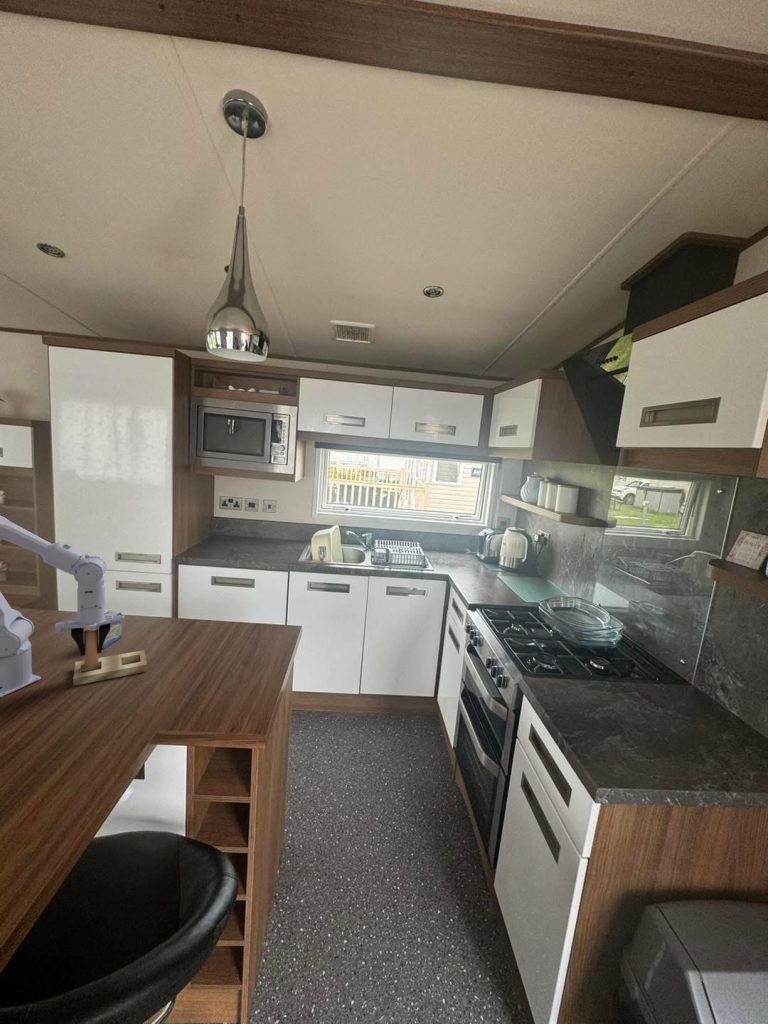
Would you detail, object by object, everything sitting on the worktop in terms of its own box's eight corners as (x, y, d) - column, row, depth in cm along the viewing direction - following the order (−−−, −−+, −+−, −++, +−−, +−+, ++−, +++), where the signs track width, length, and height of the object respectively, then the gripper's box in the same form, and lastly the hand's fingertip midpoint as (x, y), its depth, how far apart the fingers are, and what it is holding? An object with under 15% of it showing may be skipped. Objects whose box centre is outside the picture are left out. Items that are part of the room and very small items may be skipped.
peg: (90, 667, 104) (90, 634, 102) (81, 664, 104) (81, 632, 103) (101, 661, 106) (101, 630, 105) (92, 659, 107) (92, 627, 106)
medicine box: (104, 649, 119) (104, 621, 118) (89, 647, 119) (89, 620, 118) (122, 637, 127) (122, 611, 125) (108, 636, 127) (108, 610, 126)
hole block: (73, 685, 100) (73, 678, 100) (75, 668, 107) (75, 661, 107) (146, 671, 109) (146, 664, 109) (144, 656, 117) (144, 650, 116)
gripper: (53, 613, 96) (54, 666, 98) (124, 605, 104) (124, 654, 106) (56, 603, 102) (57, 653, 103) (123, 596, 110) (123, 642, 112)
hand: (91, 652), depth 105 cm, fingers closed on peg, 3 cm apart
